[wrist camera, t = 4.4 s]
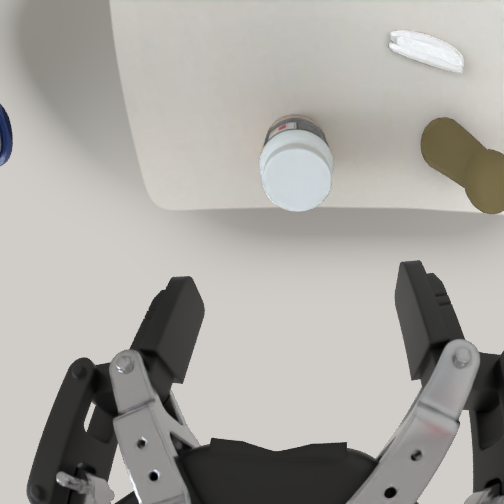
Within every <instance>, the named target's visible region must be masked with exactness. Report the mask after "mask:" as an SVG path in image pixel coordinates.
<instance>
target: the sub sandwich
mask: <svg viewBox="0 0 504 504" xmlns="http://www.w3.org/2000/svg"><path fill="white" fill-rule="evenodd" d="M390 38H391V40H392V41H393V42H395V43H390V44H389V47H390V48H391V49H392V50H393V51H394V52H397V53H399V54H401V55H403V56H405V57H408V58H411V59H414V60H417V61H419V62H422V63H425V64H428V65H431V66H434V67H437V68H440V69H443V70H447V71H450V72H455V73H462V72H463V69H464V68H462V67H463V66H464V59H463V56H462V55H461V53H460V52H459V51H457V50H456V49H455V48H454V47H453V46H451V45H450V44H448V43H446V42H444V41H443V40H441V39H439V38H436V37H433V36H430V35H428V34H425V33H421V32H416V31H411V30H396V31H393V32H391V34H390Z"/></svg>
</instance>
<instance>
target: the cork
mask: <svg viewBox="0 0 504 504" xmlns="http://www.w3.org/2000/svg"><path fill="white" fill-rule="evenodd" d="M421 152H422V154H423V157H424V159H425V161H426V162H427V163H428V164H429V166H431V167H433V168H434V169H436V170H437V171H439V172H441V173H442V174H444V175H445V176H447V177H448V178H450V179H452V180H453V181H455V182H456V183H458V184H459V185H461V186H462V187H463V188H465V192H466V194H467V196H468V198H469V200H470V201H471V203H472V204H473V205H474V206H475V207H476V208H477V209H479V210H480V211H482V212H483V213H487V214H497V213H500V212H502V211H504V155H503V154H502V153H500V152H497V151H495V150H491V149H486V148H485V147H484V146H483V145H482V144H481V143H480V142H479V141H477V140H476V139H475V138H474V137H473V136H472V135H471V134H470V133H469V132H467V131H466V130H465V129H464V128H463V127H462V126H461V125H459V124H458V123H457V122H455V121H454V120H453V119H449V118H446V117H445V118H438V119H436V120H434V121H432V122H431V123H430V124H429V125H428V126H427V127H426V128H425V130H424V132H423V134H422V139H421Z"/></svg>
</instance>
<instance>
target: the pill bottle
mask: <svg viewBox="0 0 504 504" xmlns="http://www.w3.org/2000/svg"><path fill="white" fill-rule="evenodd" d="M333 168H334V161H333V156H332V153H331V150H330V148H329V146H328V143H327V141H326V138H325V135H324V133H323V132H322V130H321V128H320V127H319V126H318V124H317V123H316V122H314V121H313V120H312V119H310V118H308V117H305V116H302V115H287V116H284V117H282V118H280V119H278V120H277V121H276V122H275V123H274V124H273V125H272V126H271V127H270V129H269V130H268V133H267V136H266V139H265V142H264V145H263V149H262V152H261V155H260V161H259V169H260V174H261V177H262V183H263V188H264V190H265V193H266V194H267V196H268V197H269V199H270V200H271V201H272V202H273V203H274V204H276V205H277V206H279V207H281V208H283V209H286V210H289V211H306V210H309V209H312V208H314V207H316V206H318V205H319V204H321V203H322V202H323V201H324V200H325V198H326V197H327V196H328V194H329V192H330V189H331V185H332V173H333Z"/></svg>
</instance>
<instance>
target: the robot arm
mask: <svg viewBox="0 0 504 504" xmlns="http://www.w3.org/2000/svg"><path fill="white" fill-rule="evenodd" d="M2 149H3V136H2V130H1V126H0V156H1V154H2ZM395 306H396V310H397V314H398V318H399V322H400V326H401V331H402V335H403V339H404V344H405V348H406V353H407V358H408V363H409V369H410V374H411V380H418V379H421V384H422V388H421V389H420V391H419V393H418V395H417V397H416V398H415V400H414V402H413V404H412V405H411V407H410V409H409V410H408V412H407V414H406V415H405V417H404V419H403V420H402V422H401V423H400V425H399V427H398V428H397V430H396V431H395V432H394V434H393V435H392V437H391V438H390V439H389V441H388V442H387V444H386V445H385V446H384V448H383V449H382V450H381V452H380V453H379V455H378V456H377V457H376V459H375V458H373V457H371V456H370V455H368V454H366V453H363V452H361V451H358V450H354V449H349V448H347V442H342V443H323V444H310V445H305V446H301V447H297V448H292V449H288V450H283V451H271V450H268V449H264V448H262V447H258V446H255V445H252V444H249V443H246V442H243V441H234V440H225V439H217V438H211V442H210V444H208V445H203V446H201V445H200V444H199V442H198V440H197V439H196V438H195V436H194V435H193V434H192V432H191V431H190V430H189V428H188V426H187V424H186V422H185V420H184V417H183V415H182V413H181V411H180V409H179V406H178V404H177V402H176V399H175V397H174V394H173V392H172V390H171V385H172V383H181V384H183V381H184V378H185V375H186V372H187V368H188V365H189V362H190V359H191V356H192V352H193V349H194V346H195V343H196V340H197V336H198V333H199V330H200V327H201V324H202V321H203V318H204V311H205V310H204V303H203V301H202V298H201V296H200V294H199V292H198V290H197V287H196V285H195V283H194V281H193V279H192V278H191V277H190V276H184V277H172V278H171V279H170V281H169V283H168V286H167V287H166V289H165V290H162V291H160V293H159V294H158V295H157V296H156V297H155V298H154V299H153V301H152V303H151V305H150V307H149V311H147V313H146V315H145V319H143V322H142V323H141V326H140V328H139V330H138V332H137V334H136V336H135V338H134V341H133V343H132V345H131V347H130V349H129V350H124V351H122V352H120V353H118V354H117V355H116V356H115V357H114V358H113V360H112V361H111V363H105V364H99V365H95V364H94V363H93V362H92V361H91V360H90V359H88V358H79V359H78V360H76V361H74V363H72V364H71V366H70V367H69V369H68V372H67V374H66V376H65V378H64V380H63V383H62V385H61V387H60V390H59V392H58V394H57V397H56V400H55V402H54V405H53V407H52V410H51V412H50V415H49V417H48V420H47V423H46V425H45V428H44V431H43V434H42V437H41V440H40V443H39V446H38V449H37V452H36V455H35V458H34V462H33V465H32V469H31V472H30V476H29V480H28V484H27V496H28V499H29V501H30V503H31V504H111V502H110V501H112V500H113V499H114V492H113V491H112V490H111V489H110V487H109V485H108V483H107V482H108V479H109V475H110V471H111V467H112V463H113V458H114V455H115V452H116V448H117V444H119V447H120V451H121V454H122V457H123V460H124V463H125V466H126V469H127V472H128V475H129V478H130V481H131V483H132V486H133V489H134V491H133V492H131V493H130V494H128V495H127V496H125V497H124V498H122V499H121V500H119V501H118V502H117V503H115V504H418V503H417V500H418V498H419V497H420V495H421V494H422V492H423V491H424V489H425V488H426V486H427V485H428V483H429V482H430V480H431V479H432V477H433V475H434V474H435V472H436V471H437V469H438V467H439V466H440V464H441V462H442V460H443V459H444V457H445V455H446V453H447V451H448V449H449V448H450V446H451V444H452V442H453V440H454V438H455V436H456V434H457V432H458V429H459V426H460V422H459V417H460V414H461V412H462V410H469V415H470V423H471V433H472V445H473V446H472V447H473V494H472V495H471V496H469V498H468V499H467V500H466V501H465V503H464V504H504V351H503V353H502V354H501V355H497V354H488V353H481V352H478V350H477V348H476V347H475V346H474V345H473V344H472V343H471V342H469V341H467V340H465V338H464V335H463V333H462V330H461V327H460V324H459V322H458V319H457V316H456V314H455V311H454V309H453V306H452V304H451V301H450V299H449V297H448V295H447V292H446V290H445V287H444V285H443V283H442V281H441V280H440V279H439V278H438V277H437V276H436V275H435V274H434V273H429V274H426V271H425V269H424V267H423V265H422V263H421V261H420V260H417V261H406V262H401V263H400V266H399V272H398V278H397V284H396V289H395ZM91 402H92V403H94V404H95V405H96V406H95V409H94V412H93V415H92V418H91V421H90V424H89V427H88V430H87V432H86V431H85V429H84V421H85V418H86V415H87V412H88V410H89V407H90V404H91Z"/></svg>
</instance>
